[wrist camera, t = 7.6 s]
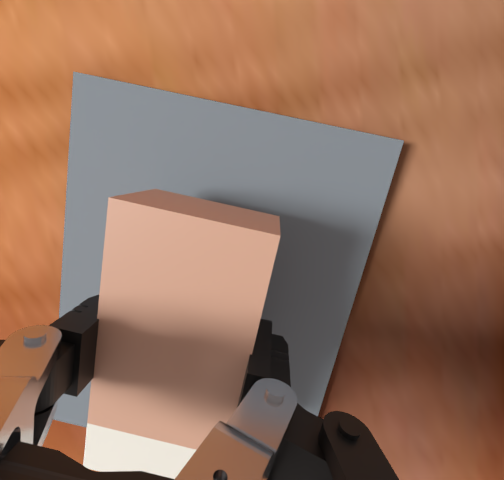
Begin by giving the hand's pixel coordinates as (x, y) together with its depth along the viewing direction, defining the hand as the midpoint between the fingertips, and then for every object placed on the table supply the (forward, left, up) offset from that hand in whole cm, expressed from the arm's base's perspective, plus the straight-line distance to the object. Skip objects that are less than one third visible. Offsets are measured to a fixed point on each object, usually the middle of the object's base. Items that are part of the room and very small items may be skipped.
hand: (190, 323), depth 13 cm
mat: (0, 0, -3) cm, 3 cm away
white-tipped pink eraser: (0, 0, -1) cm, 1 cm away
